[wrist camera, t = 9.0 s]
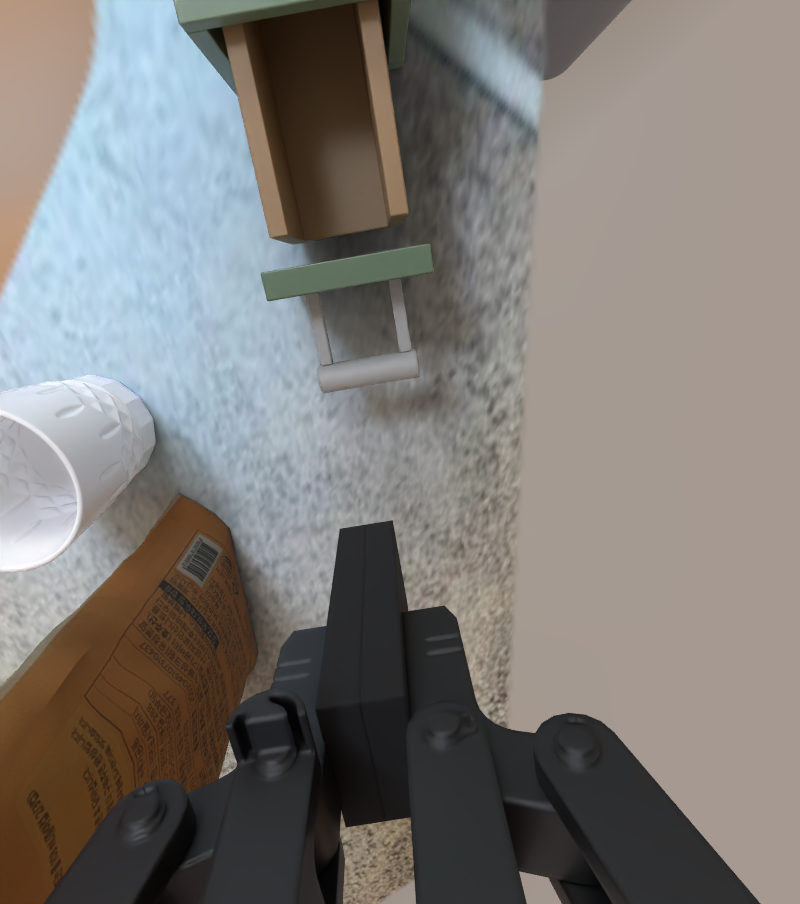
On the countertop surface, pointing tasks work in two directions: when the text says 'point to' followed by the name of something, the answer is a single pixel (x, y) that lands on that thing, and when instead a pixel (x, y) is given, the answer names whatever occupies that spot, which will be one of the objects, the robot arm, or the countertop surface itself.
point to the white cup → (65, 462)
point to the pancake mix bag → (122, 696)
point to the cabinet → (227, 3)
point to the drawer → (328, 163)
